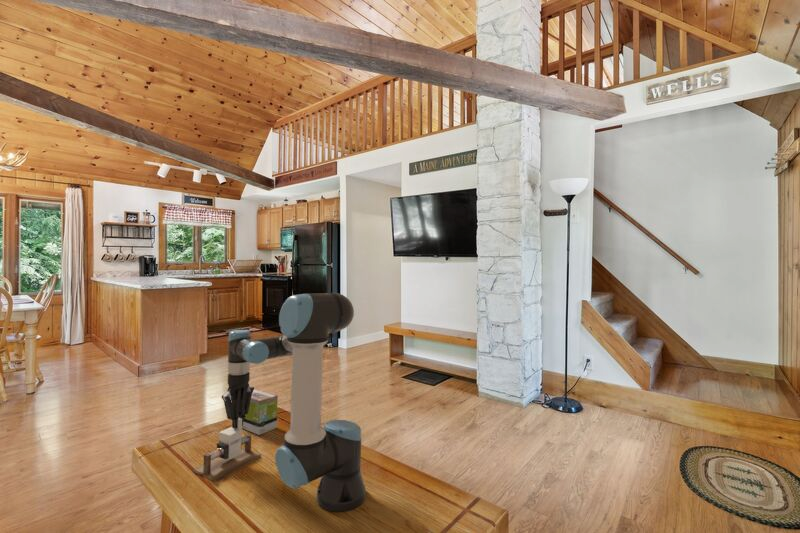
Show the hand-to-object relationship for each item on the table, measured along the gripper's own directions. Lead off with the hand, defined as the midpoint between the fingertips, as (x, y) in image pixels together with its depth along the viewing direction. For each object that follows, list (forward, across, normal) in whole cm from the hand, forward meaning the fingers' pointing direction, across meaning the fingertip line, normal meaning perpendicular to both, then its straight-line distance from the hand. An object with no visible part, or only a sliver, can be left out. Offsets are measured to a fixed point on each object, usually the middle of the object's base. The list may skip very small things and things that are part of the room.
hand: (237, 435), depth 141 cm
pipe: (+4, +4, 0) cm, 6 cm away
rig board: (+9, +4, 0) cm, 10 cm away
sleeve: (+6, +3, 0) cm, 7 cm away
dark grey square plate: (+5, +6, 0) cm, 8 cm away
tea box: (+9, -24, -15) cm, 30 cm away
